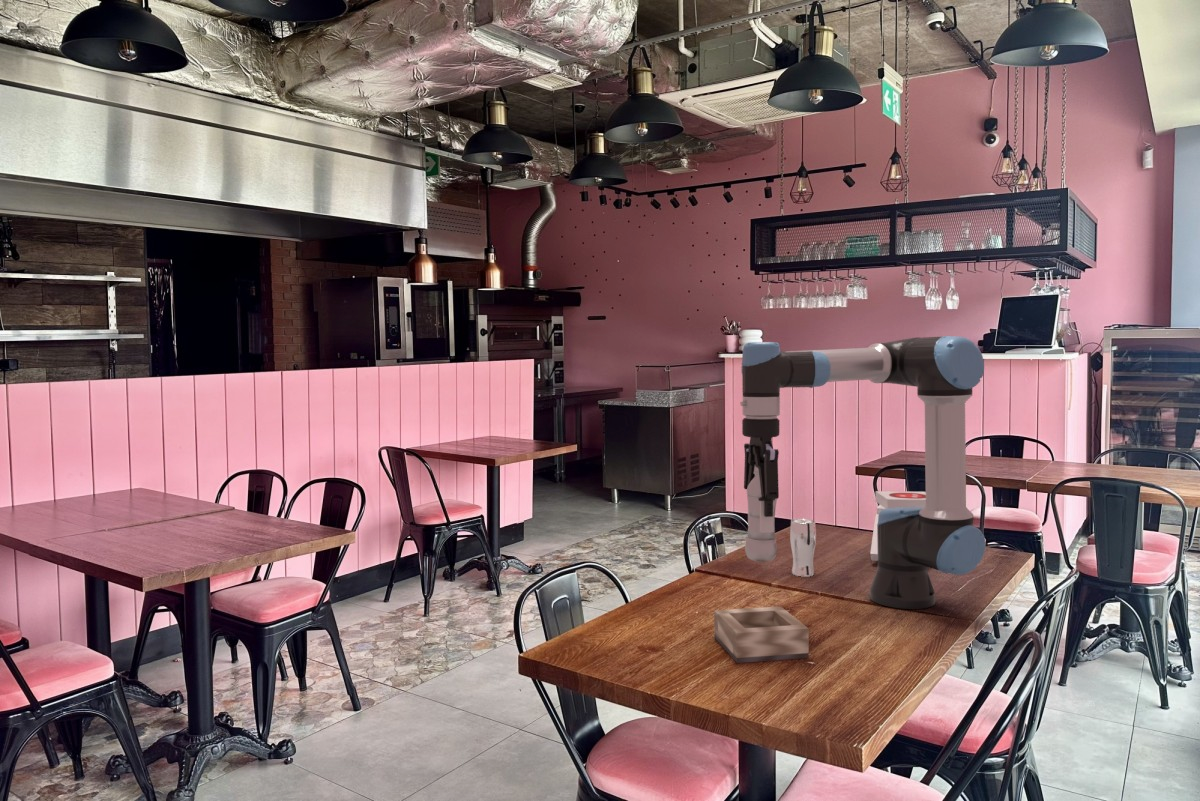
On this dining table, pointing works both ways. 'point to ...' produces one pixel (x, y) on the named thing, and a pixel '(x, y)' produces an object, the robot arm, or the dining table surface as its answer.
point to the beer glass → (803, 546)
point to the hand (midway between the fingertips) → (760, 528)
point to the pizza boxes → (894, 501)
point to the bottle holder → (761, 634)
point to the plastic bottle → (758, 526)
